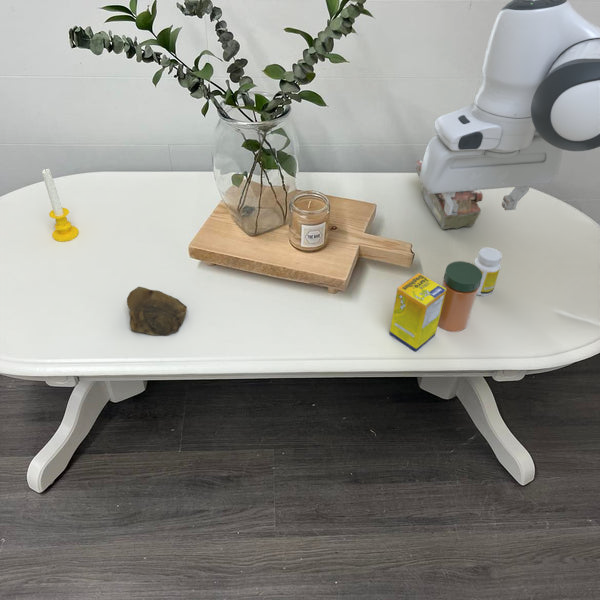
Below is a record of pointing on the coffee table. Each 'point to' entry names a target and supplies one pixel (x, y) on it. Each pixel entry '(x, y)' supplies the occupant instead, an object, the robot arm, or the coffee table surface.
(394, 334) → the supplement box
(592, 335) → the coffee table surface
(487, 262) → the supplement bottle
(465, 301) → the jar
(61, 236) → the candle
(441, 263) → the coffee table surface
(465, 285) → the lid
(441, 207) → the decorative box
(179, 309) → the decorative stone
